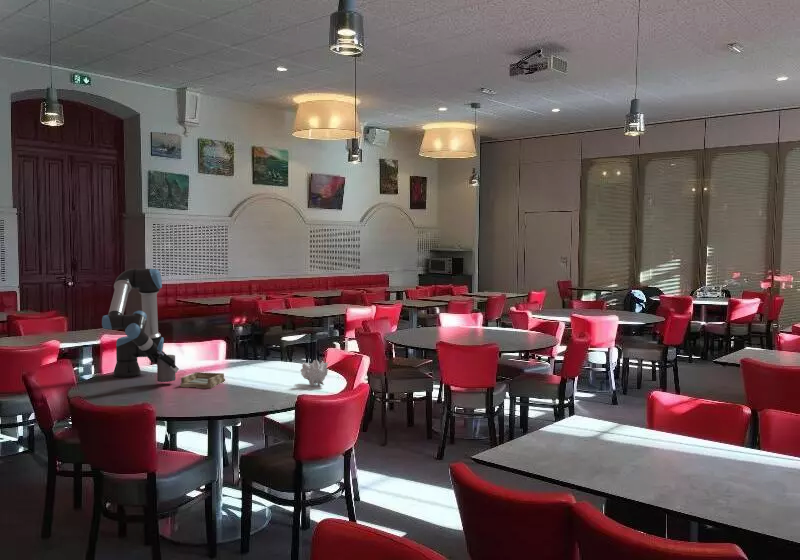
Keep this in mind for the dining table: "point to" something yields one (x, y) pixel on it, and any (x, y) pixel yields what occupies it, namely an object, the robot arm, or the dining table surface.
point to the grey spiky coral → (314, 372)
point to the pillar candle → (165, 371)
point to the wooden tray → (202, 380)
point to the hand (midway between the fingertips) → (170, 369)
